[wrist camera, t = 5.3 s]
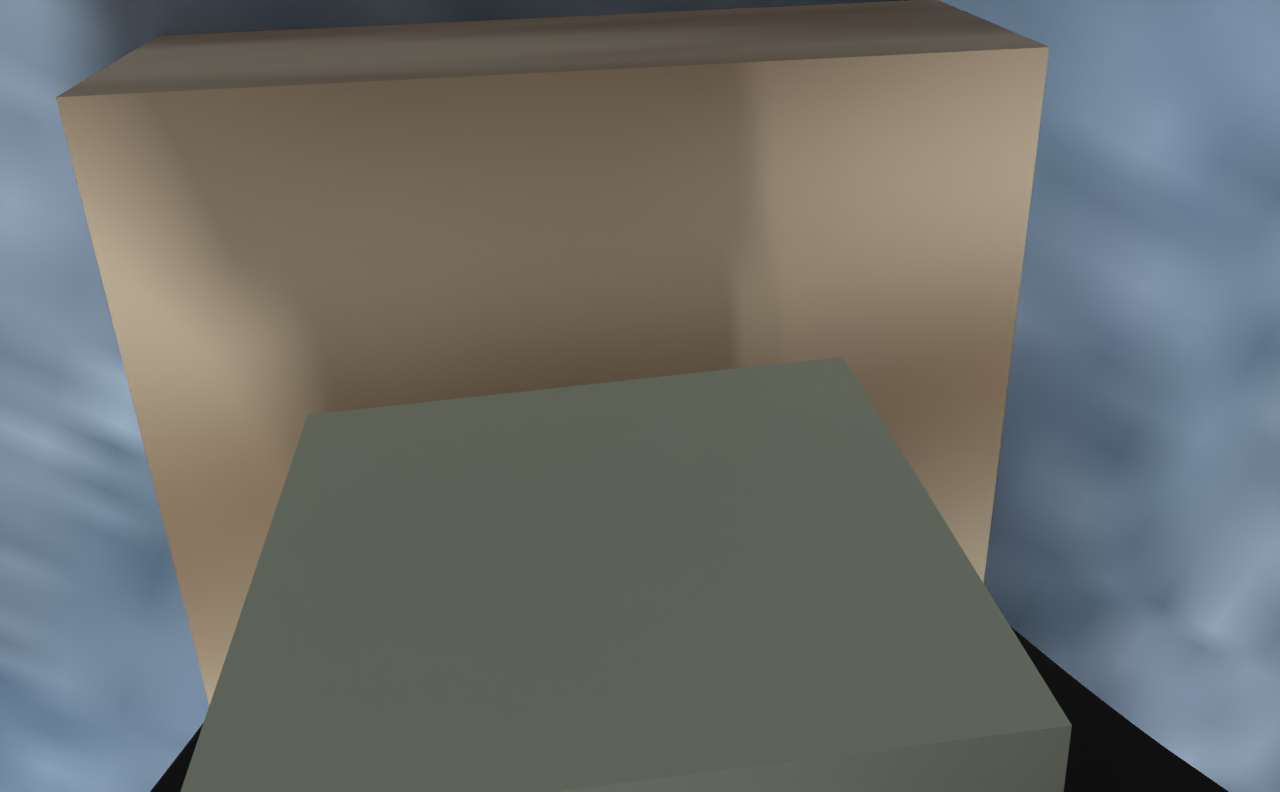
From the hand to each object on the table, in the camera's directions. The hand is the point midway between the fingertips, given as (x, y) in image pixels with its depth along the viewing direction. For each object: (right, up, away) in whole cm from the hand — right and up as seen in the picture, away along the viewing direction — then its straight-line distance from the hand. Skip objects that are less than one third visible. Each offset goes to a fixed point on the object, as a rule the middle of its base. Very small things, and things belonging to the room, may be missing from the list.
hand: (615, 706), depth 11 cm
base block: (-1, +3, +7) cm, 8 cm away
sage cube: (0, +1, +1) cm, 2 cm away
